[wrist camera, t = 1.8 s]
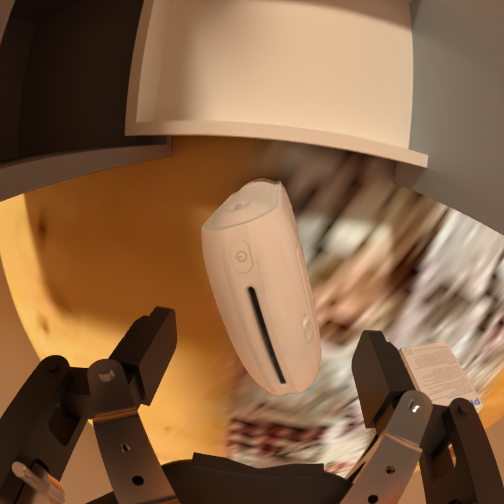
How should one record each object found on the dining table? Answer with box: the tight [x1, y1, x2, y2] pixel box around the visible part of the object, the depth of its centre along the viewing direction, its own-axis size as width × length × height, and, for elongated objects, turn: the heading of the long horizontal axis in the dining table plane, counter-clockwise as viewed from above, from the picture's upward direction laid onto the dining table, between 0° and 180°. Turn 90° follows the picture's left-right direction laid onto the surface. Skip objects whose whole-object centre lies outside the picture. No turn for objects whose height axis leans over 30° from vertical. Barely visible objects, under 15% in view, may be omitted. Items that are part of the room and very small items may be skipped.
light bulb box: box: [399, 342, 484, 466], centre depth 22 cm, size 11×7×11 cm, turn 4°
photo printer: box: [201, 178, 322, 396], centre depth 16 cm, size 10×4×12 cm, turn 16°
